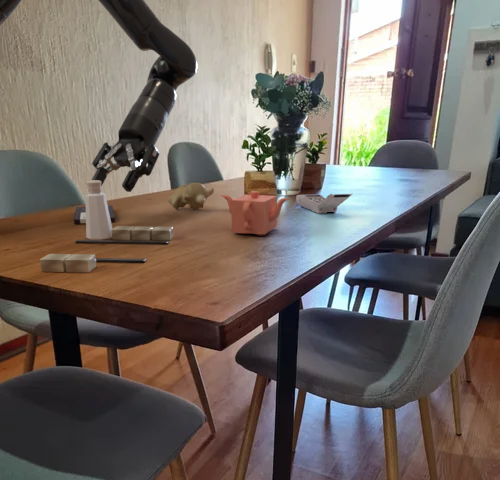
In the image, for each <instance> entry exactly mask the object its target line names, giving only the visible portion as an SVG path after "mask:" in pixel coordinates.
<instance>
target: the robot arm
mask: <svg viewBox="0 0 500 480" xmlns="http://www.w3.org/2000/svg"><path fill="white" fill-rule="evenodd" d="M22 1H23V0H0V27H1V26H2V25H3V24H4V23H5V21H7V20H8V19H9V18H10V17H11V15H13V13H14V12H15V10H16V9H17V8H18V6H19V5H20V4H21V2H22ZM98 2H99V3H100V4H101V5H102V6H103V8H104V9H105V10H106V11H107V12H108V14H109V15H110V16H111V17H112V18H113V20H114V21H115V22H116V24H118V26H119V27H120V28H121V30H123V32H124V33H125V34H126V36H127V37H128V38H129V39H130V40H131V41H132V43H133V44H134V45H135V46H136V48H137V49H139V50H140V51H142V52H149V51H153V52H155V53H156V54H157V55H159V56H158V57H157V58H156V59H155V61H154V62H153V64H152V66H151V67H150V70H149V73H148V76H147V80H146V84H145V85H144V87H143V88H142V90H141V92H140V94H139V96H138V98H137V99H136V101H135V102H134V103H133V104H132V106H131V108H130V109H129V111H128V113H127V115H126V117H125V118H124V120H123V121H122V124H121V126H120V128H119V129H118V132H117V133H118V141H117V142H116V143H115V144H114V145H110V144H109V142H104V143H103V144H102V146H101V147H100V149H99V151H98V153H97V154H96V155H95V157H94V159H93V161H92V163H91V165H92V166H93V167H94V168H95V169H96V170H95V173H94V174H93V176H92V178H91V180H99V181H101V186H102V187H103V185H104V183H105V181H106V179H107V177H108V175H109V174H110V173H112V172H113V171H117V170H119V169H120V168H124V167H126V168H130V169H129V170H128V172H127V174H126V176H125V178H124V180H123V181H122V184H121V187H122V189H123V190H124V191H125V192H127V193H132V191H133V189H134V188H135V186H136V184H137V183H138V181H139V179H141V178H143V176H146V177H148V176H150V175H151V174H152V172H153V170H154V167H155V165H156V163H157V161H158V158H159V157H160V155H161V153H160V152H159V150H158V149H157V147H156V146H155V145H156V144H157V142H158V140H159V138H160V135H161V134H162V133H163V130H164V128H165V126H166V123H167V120H168V118H169V116H170V114H171V112H172V110H173V108H174V107H175V104H176V100H177V94H176V91H177V90H178V88H179V87H180V86H181V85H183V84H184V83H186V82H187V81H188V80H190V79H192V78H193V77H194V76H195V74H196V73H197V69H198V61H197V57H196V55H195V52H194V51H193V50H192V48H191V47H190V46H189V44H188V43H187V42H185V40H183V39H182V38H181V37H179V36H178V35H177V34H176V33H175V32H174V31H172V30H171V29H170V28H168V27H167V26H166V25H165V24H164V23H162V22H161V21H160V19H159V18H158V17H157V16H156V14H155V13H154V11H153V10H152V9H151V7H150V6H149V5H148V3H146V1H145V0H98ZM112 159H113V160H112ZM114 162H115V163H114ZM108 165H109V166H108Z"/></svg>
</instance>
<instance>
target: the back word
mask: <svg viewBox="0 0 500 480" xmlns="http://www.w3.org/2000/svg"><path fill="white" fill-rule="evenodd" d="M111 232H112V238H111V239H105V240H90V239H76V240H75V244H106V245H107V244H114V245H117V244H120V245H169V244H170V242H169V241H171V240H172V239H173V238H175V237H174V236H175V235H174V227H173V226H155V227H154V226H140V225H139V226H138V225H137V226H134V225H130V226H129V225H116V226H115V227H112V230H111Z"/></svg>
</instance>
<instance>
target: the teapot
mask: <svg viewBox="0 0 500 480" xmlns="http://www.w3.org/2000/svg"><path fill="white" fill-rule="evenodd" d="M220 196H221V197H222V198H224V199H225V200H226V202H227V205H228V209H229V213H230V216H231V218H230V219H231V233H238V234H239V235H247V234H253V235H254V234H255V235H256V236H261V237H263V236H265V235H266V234H268V233H270V232H271V231H272V230H274V229H275V228H277V225H278V224H277V223H278V222H277V220H278V218H279V217H280V214H281V211H282V208H283V205H284V203H285V202H287V201H288V200H291V198H288V197H284V198H280V199H279V200H278V196H277V195H267V194H266V195H265V194H264V195H263V194H260V191H257V190H253V191H249V194H243V195H241V196H237V197H235V198H233V197H231V196H230V195H225V194H221V195H220Z"/></svg>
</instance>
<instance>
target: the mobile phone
mask: <svg viewBox="0 0 500 480" xmlns="http://www.w3.org/2000/svg"><path fill="white" fill-rule="evenodd" d="M352 195H353V193H352V192H351V193H337V194H336V193H335V194H332V193H330V194H328V195H327V196H326V197H325V196H323V195H322V194H317V193H316V194H314V193H313V194H296V196H295V202H296V203H297V204H298V206H299V207H302V208H304V209H307V210H309V211H311V212H314V213H316V214H321V215H322V214H328V213H327V212H334V213H333V214H335V213H336V212H337V211H338V207H339V206H340V205H342V204H343V203H344V202H345V201H347V200H348V199H349V198H350V197H351V196H352Z"/></svg>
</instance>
